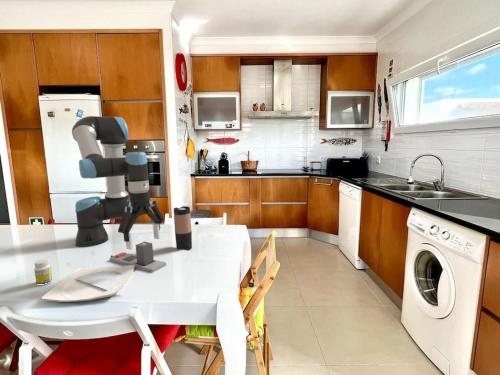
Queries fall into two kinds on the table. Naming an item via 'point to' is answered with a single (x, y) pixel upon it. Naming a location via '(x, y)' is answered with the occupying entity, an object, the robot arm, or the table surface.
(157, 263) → the power strip
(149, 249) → the block
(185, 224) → the travel mug
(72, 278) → the plate
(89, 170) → the robot arm
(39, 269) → the supplement bottle
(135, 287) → the table surface
